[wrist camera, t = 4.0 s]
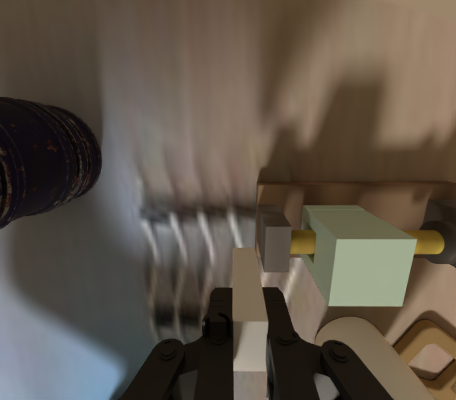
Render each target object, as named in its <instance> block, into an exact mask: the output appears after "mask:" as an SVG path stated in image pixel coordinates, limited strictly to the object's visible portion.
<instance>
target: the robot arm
mask: <svg viewBox="0 0 456 400" xmlns="http://www.w3.org/2000/svg"><path fill="white" fill-rule="evenodd" d="M202 333H203V336H201V337H200V338H199V339H198V340H196V341H194V342H192V343H188V344H185V345H183V344H182V342H181V341H179V340H177V339H166V340H163V341H161V342H160V343H158V344H157V345H156V346H155V347H154V349H153V350H152V352H151V353H150V355H149V356H148V358H147V359H146V361H145V362H144V364H143V366H142V367H141V369H140V370H139V372H138V373H137V375H136V376H135V378H134V379H133V381H132V383H131V384H130V386H129V387H128V389H127V390H126V392H125V393H124V395H123V396H122V398H120V399H119V400H234V377H233V371H266V367H267V375H268V376H267V396H266V398H269V400H394V399H393V398H392V397H391V396H390V394H389V393H388V392H387V391H386V390H385V388H384V387H383V386H382V385H381V383H380V382H379V381H378V380H377V379H376V377H375V376H374V375H373V374H372V372H371V371H370V370H369V369H368V368H367V366H366V365H365V364H364V363H363V362H362V360H361V359H360V358H359V357H358V355H357V354H356V353H355V352H354V351H353V350H352V349H351V348H350V347H349V346H348V345H346V344H345V343H343V342H341V341H337V340H328V341H325V342H324V343H323V344H322V346H318V345H314V344H311V343H309V342H306V341H304V340H303V339H301V338H300V337H299V335H298V333H297V332H295V331H294V328H293V325H292V322H291V318H290V315H289V312H288V309H287V305H286V302H285V299H284V296H283V293H282V292H281V291H280V290H279V289H278V288H277V287H262V285H261V279H260V274H259V268H258V263H257V257H256V252H255V248H233V288H215V289H214V290H213V291H212V293H211V296H210V303H209V310H208V314H207V315H206V316H205V317H204V318H203V320H202Z"/></svg>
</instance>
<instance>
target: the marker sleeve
mask: <svg viewBox="0 0 456 400" xmlns="http://www.w3.org/2000/svg"><path fill="white" fill-rule="evenodd" d="M301 230H314V232H315V233H316V242H315V252H314V254H300V256H301V258H302V260H303V261H304V263H305V264H306V266H307V268H308V270H309V271H310V273H311V275H312V277H313V279H314V281H315V283H316V285H317V286H318V288H319V290H320V292H321V293H322V295H323V297H324V299H325V301H326V302H327V304H328V306H402V305H403V300H404V296H405V292H406V287H407V283H408V278H409V274H410V269H411V265H412V260H413V256H414V251H415V247H416V242H417V239H416V238H414V237H412V236H410V235H409V234H407V233H405V232H403V231H402V230H400V229H398V228H396V227H395V226H393V225H391V224H389V223H388V222H386V221H384V220H381V219H379V218H378V217H376V216H374V215H372V214H371V213H369V212H367V211H365V210H364V209H363V208H361V207H359V206H358V205H303V214H302V226H301Z"/></svg>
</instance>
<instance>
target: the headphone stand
mask: <svg viewBox="0 0 456 400" xmlns="http://www.w3.org/2000/svg"><path fill="white" fill-rule="evenodd" d="M432 343H433V344H436V345H438V346H439V347H440V348H442V349H443V350H444V351H446V352H447V353H448V354H450V355H451V356H452V357H453V358H455V361H454V362H453V363H452V364H451V365H450V366H448V367H447V368H446V369H445V370H444V371H443V372H442V373H441V374H440V375H439V376H438V377H437V378H436V379H435V380H431V381H429V380H426V379H422V378H419V377H418V378H419V379H420V380H421V381H422V383H423V384H424V385H425V386H426V387H427V389H428V390H429V391H430V392H431V393H432V395H433V396H434V397H435V398H436V399H437V400H455V399H456V339H454V338H453V337H452V336H450V335H449V334H448V333H446V332H445V331H444V330H443V329H441V328H440V327H439V326H437V325H436V324H435V323H433V322H432V321H430V320H421V321H418V322H417V323H416V324H415V325H414V326H413V327H412V328H411V329H410V330H409V331H408V332H407V333H406V334H405V335H404V337H403V338H402V339H401V340H400V341H399V342H398V343H397V344H396V345H395V346H394V347H393V348H394V349H395V350H396V352H397V353H398V354H399V355H400V356H401V358H402V359H403V360H404V361H405V362H406V364H408V363H409V362H410V361H411V360H412V359H413V358H414V357H415V356H416V355H417V354H418V353H419V352H420V351H421V350H422V349H423V348H424V347H425V346H426V345H428V344H432Z"/></svg>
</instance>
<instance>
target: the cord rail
mask: <svg viewBox="0 0 456 400" xmlns="http://www.w3.org/2000/svg"><path fill="white" fill-rule="evenodd" d="M303 205H358V206H359V207H361V208H363V209H364V210H365V211H367V212H369V213H371V214H372V215H374V216H376V217H378V218H379V219H381V220H384V221H386V222H388V223H389V224H391V225H393V226H395V227H396V228H398V229H400V230H402V231H403V232H405V233H407V234H409V235H410V236H412V237H414V238H416V239H417V242H416V247H415V251H414V256H413V258H426V259H427V260H429V261H430V262H432V263H435V264H450V265H452V266H454V267H455V268H456V183H453V182H257V197H256V236H255V252H256V257H261V260H262V265H263V269H264V272H289V261H290V258H301V256H300V254H314V252H315V242H316V233H315V232H314V230H301V226H302V214H303Z"/></svg>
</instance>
